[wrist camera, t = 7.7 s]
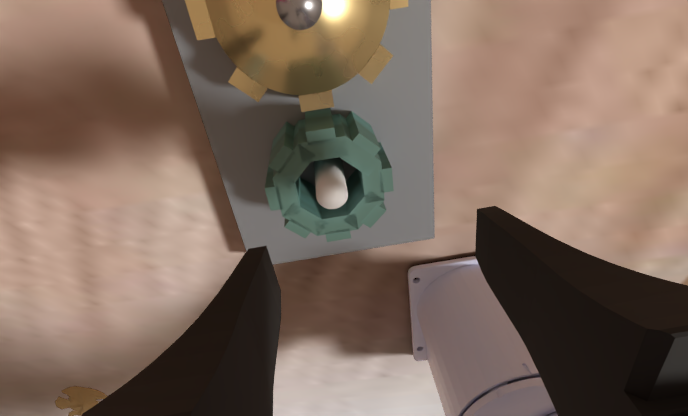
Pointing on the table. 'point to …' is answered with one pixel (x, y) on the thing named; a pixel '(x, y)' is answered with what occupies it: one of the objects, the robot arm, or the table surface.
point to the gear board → (330, 174)
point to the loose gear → (319, 144)
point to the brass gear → (297, 43)
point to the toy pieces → (79, 399)
